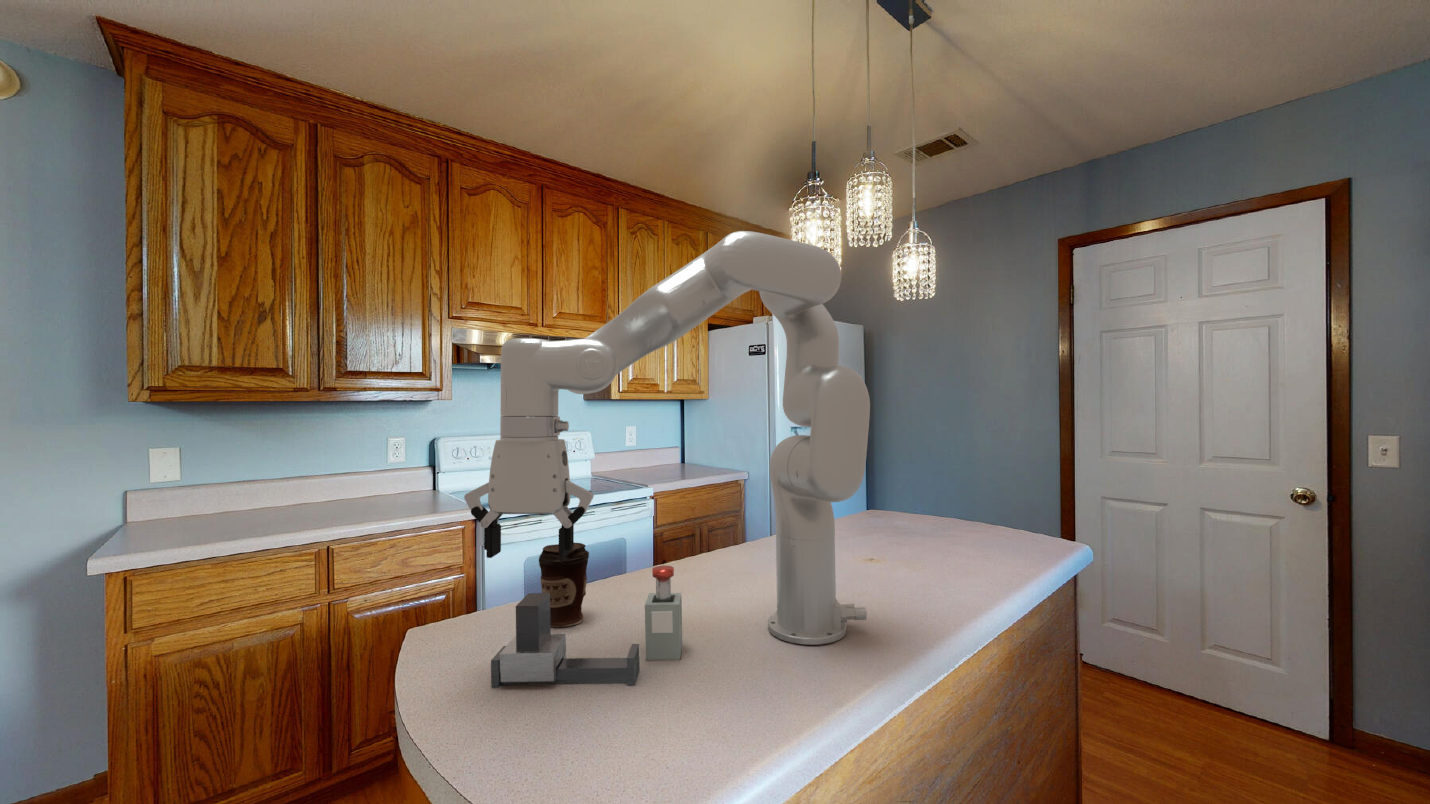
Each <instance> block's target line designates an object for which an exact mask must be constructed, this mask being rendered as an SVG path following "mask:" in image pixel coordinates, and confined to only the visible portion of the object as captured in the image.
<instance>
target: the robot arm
mask: <svg viewBox="0 0 1430 804" xmlns="http://www.w3.org/2000/svg"><path fill="white" fill-rule="evenodd" d="M841 282H842V271H841V267H840V264H839V262H838V260H836V258H835V256H833V254H831V253H830V252H829V251H827V250H826V249H824V248H822V247H819V246H817V245H813V244H809V243H806V242H800V241H797V240H792V239H788V238H785V237H780V236H775V235H771V234H767V233H764V232H763V233H762V232H756V231H749V230H738V231H734V232H731V233H729V234H727V235H725V237H723V238H722V239H721V240H720V241H718V242H717V243H716V244H714V245H713V246H712V247H711V248H710V247H709V248H708V250H706V251H705V252H703V253H701V254H700V255H699V256H697V257H696V258H694V259H693V260H691V261H690V262H688V263H686V264H685V265H683V266H682V267H681V268H679V269H678V270H675V272H673V273H672V274H670V275H669V276H667V277H665V278H663V279H662V280H661V281H659V282H658V283H656V284H654V285H653V286H652V287H650V288H648V289H647V290H646V291H644V293H642V294H641V295H639V296H638V297H637V298H636V299H635V300H633V301H632V302H631V304H629V305H628V307H626V308H625V309H624V310H623V311H621V312H620V313H619V314H617V315H616V316H615V317H614V318H612V319H611V320H609V321H608V322H607V323H605V324H604V325H602V326H601V327H600V328H598V329H596V330H595V331H594V332H592V333H590V334H589V335H587V336H586V337H583V338H576V339H574V338H573V339H564V340H548V339H542V338H534V337H532V338H531V337H529V338H528V337H519V338H517V337H516V338H510V339H507V340H506V341H504V343H503V344H502V346H501V350H500V421H499V424H500V429H499V430H500V435H499V436H500V439H497V440H495V443H494V446H493V452H492V456H491V461H490V469H489V477H488V482H487V483H485V484H483V485H480V486H479V487H476V488H475V489H472V490H471V491H469V492H468V493H465V495H464V497H463V498H464V501H465V502H466V505H467V507H468V508H469V510H470V514H471V515H472V516H473V517H474V518H475V519H476V521H478V523H479V526H480V527H481V528H483V550H485V551H486V558H487V559H492V558H494V557H495V556H496V555H498V554H500V553H501V550H502V525H501V523H498V521H499V519H500V518H502V516H503V515H553V516H554V517H555V518H556V519H557V521H558V522H559V523H560V524H561V526H560V527H559V528H558V544H559V557H560V558H565V557H566V556H567V555H568V554H569V553H570V550H572V549H573V545H574V543H575V542H574V540H575V539H574V538H575V537H574V533H575V532H574V531H575V528H574V526H575V524H576V523H577V522H578V520H580V519H581V518H582V517H583V516H584V515H585V514H586V513H587V510H588V508H589V506H590V504H591V503H592V501H593V499H594V497H595V496H594V493H592V492H591V491H589V490H587V489H586V488H583V487H582V486H580V485H578V484H577V483H574V482H572V481H571V480H570V479H571V478H570V477H571V476H570V468H569V458H568V451H567V450H568V449H567V446H566V441H565V439H564V438H563V439H562V438H560V439H559V436H560V435H561V433H563V432H569V427H570V425H569V421H565V420H561V418H560V416H559V391H560V390H567V391H569V392H570V393H573V394H576V395H587V394H593V393H594V394H595V393H598V392H601V391H602V390H605V389H606V388H608V387H609V386H610V384H612V382H614V380H615V378H616V376H617V375H619V374H620V373H621V372H623V371H624V370H626V369H627V368H628V367H631V366H632V365H634V363H636V362H638V361H639V360H641V359H643V358H644V357H646V356H647V355H649V354H651V353H653V352H656V351H657V350H659V349H661V348H664V347H666V346H669V345H670V344H672V343H674V342H675V341H677V340H679V339H680V338H682V337H684V336H685V335H687V334H688V333H689V332H690V331H692V330H694V329H695V328H696V327H698V326H699V325H700V324H702V323H703V322H704V321H706V320H707V319H709V318H710V317H711V316H713V315H715V314H716V313H718V312H719V311H720V310H722V309H723V308H724V307H726V306H728V305H729V304H730V303H731V302H733V301H734V300H736V299H737V298H738V297H740V296H742V295H743V294H746V293H747V292H749V291H751V290H753V291H757V292H758V293H759V297H760V300H761V302H762V304H763V305H764V306H765V308H766V309H767V310H768V311H769V312H770V313H771V314H772V315H773V316H774V318H776V319H777V321H778V322H779V324H780V325H781V327H782V329H783V331H784V334H785V339H786V357H785V358H786V360H785V369H784V370H785V371H784V381H783V390H782V391H783V392H782V409H783V413H784V415H785V416H786V418H787V419H788V421H790V422H792V423H793V424H795V425H797V426H800V427H806V428H810V433H809V435H806V434H799V435H792V436H788V437H786V438H785V439H783V440H781V441H780V442H779V443H778V444H777V445H776V446H775V448H774V449H773V451H772V452H771V457H770V459H769V476H770V483H771V484H770V485H771V489H772V495H773V500H774V501H773V502H774V512H775V557H776V558H775V560H776V563H775V564H776V601H777V602H776V609H777V612H776V613H774V614H772V615H770V616H769V618H768V620H767V629H768V631H769V632H770V634H771V635H772V636H774V637H775V638H777V639H779V640H782V641H783V642H787V643H792V644H797V645H807V646H808V645H809V646H812V645H815V646H816V645H818V646H819V645H825V644H831V643H834V642H837V641H839V640H840V639H842V638H844V636H846V633H847V622H848V621H849V620H854V621H867V619H868V616H867V609H866V607H856V606H855V604H854V603H845V604H844V603H843V604H841V603H840V602H839V601H838V599H837V589H836V588H837V587H836V586H837V585H836V584H837V583H836V538H835V537H836V532H835V531H836V528H835V527H836V526H835V514H834V509H833V505H832V503H840V502H844V501H846V500H849V499H850V498H852V497H853V496H854V495H855V494H856V493H857V491H858V490H859V488H860V486H861V485H862V483H863V479H864V477H865V470H866V465H867V464H866V463H867V456H868V455H867V451H868V440H869V439H868V438H869V431H870V429H869V426H870V415H871V414H870V413H871V412H870V411H871V400H870V394H869V391H868V387H867V385H866V382H865V381H864V380H863V378H862V376H860V374H858V372H856V371H855V370H853V369H851V368H850V367H847V366H841V365H839V356H840V354H839V350H840V349H839V347H840V342H839V341H840V339H839V331H838V329H837V325H836V323H835V321H834V319H833V317H832V315H831V313H829V311H828V309H827V308H826V306H825V305H824V304H825V303H826V302H828V301H830V300H831V299H833V297H834V296H835V295H836V294H837V292H838V291H839V288H840V286H841ZM486 495H487V497H488V498H487V500H488V502H487V503H488V509H489V510H487V508H486V507H485V506H484V505H482V501H481V498H482V497H483V496H486ZM571 495H572V496H573V497H575V498H577V499H578V500H579V503H578V505H577V507H576V508H575V509H574V510H573V511H572V510H571V508H569V505H570V503H571Z"/></svg>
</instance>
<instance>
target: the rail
mask: <svg viewBox="0 0 1430 804" xmlns="http://www.w3.org/2000/svg"><path fill="white" fill-rule="evenodd" d="M506 646H507V645H503V646H502V647H501V648H500V649H499V650H498V652H496V654H495V655H494V656H493V658H492V659H490V677H491V678H490V679H491V682H490V684H491V685H490V687H491V688H493V689H494V688H500V687H501V686H503V685H505V686H507V685H510V686H514V685H565V684H569V685H570V684H571V685H574V684H575V685H576V684H581V685H582V684H626V685H627V686H636V682H637V680H638V679H637V678H638V675H639V672H640V643H632V644H630V648H629V652H628V654H627V656H626V657H581V658H578V657H575V658H572V657H571V658H566V659H561V661H560V662H559V664H558V665H557V667H556V679H555V680H554V681H538V682H501V673H500V653H501V652H502V651H503V649H504V648H505V647H506Z"/></svg>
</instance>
